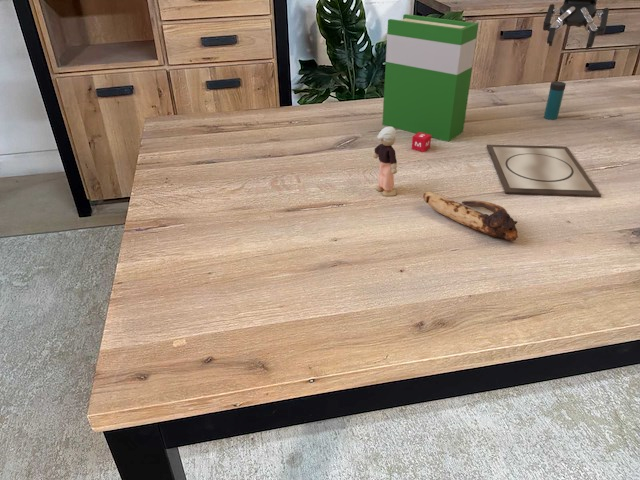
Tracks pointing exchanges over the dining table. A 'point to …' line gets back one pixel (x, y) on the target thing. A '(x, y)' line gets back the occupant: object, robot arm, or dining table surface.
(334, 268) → the dining table surface
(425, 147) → the dice
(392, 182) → the grandmother figurine
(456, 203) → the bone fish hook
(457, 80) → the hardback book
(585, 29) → the robot arm
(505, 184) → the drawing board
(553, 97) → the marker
